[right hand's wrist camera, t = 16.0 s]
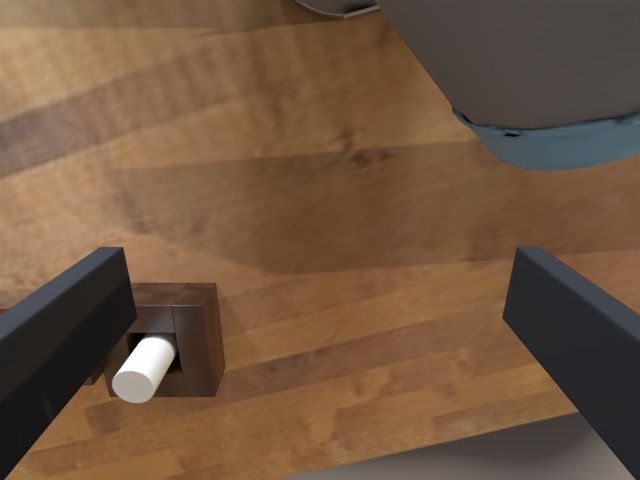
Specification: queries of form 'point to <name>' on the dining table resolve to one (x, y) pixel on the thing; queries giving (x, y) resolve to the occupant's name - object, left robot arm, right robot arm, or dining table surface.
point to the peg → (145, 367)
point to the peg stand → (191, 331)
